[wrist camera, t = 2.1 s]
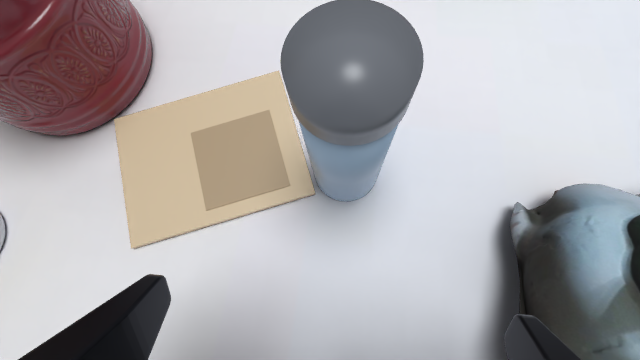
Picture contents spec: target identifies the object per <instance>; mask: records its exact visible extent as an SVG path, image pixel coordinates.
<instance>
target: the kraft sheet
mask: <svg viewBox="0 0 640 360" xmlns="http://www.w3.org/2000/svg"><path fill="white" fill-rule="evenodd" d="M114 123H115V130H116V138H117V145H118V153H119V160H120V168H121V175H122V183H123V190H124V198H125V205H126V213H127V220H128V228H129V235H130V243H131V248H134V249H135V248H138V247H142V246H145V245H148V244H152V243H155V242H158V241H162V240H165V239H168V238H172V237H175V236H178V235H182V234H185V233H188V232H192V231H195V230H198V229H202V228H205V227H208V226H212V225H215V224H218V223H222V222H225V221H228V220H232V219H235V218H238V217H242V216H245V215H248V214H252V213H255V212H258V211H262V210H265V209H268V208H271V207H275V206H278V205H281V204H285V203H288V202H291V201H295V200H298V199H301V198H305V197H308V196H311V195H315V190H314V187H313V184H312V180H311V177H310V173H309V170H308V167H307V163H306V160H305V157H304V153H303V150H302V146H301V143H300V140H299V136H298V133H297V130H296V126H295V123H294V120H293V116H292V113H291V109H290V106H289V103H288V99H287V96H286V93H285V89H284V86H283V83H282V79H281V76H280V72H279V71H276V72H272V73H269V74H266V75H262V76H259V77H255V78H252V79H249V80H245V81H242V82H238V83H235V84H232V85H228V86H225V87H221V88H218V89H215V90H211V91H208V92H204V93H201V94H198V95H194V96H191V97H187V98H184V99H181V100H177V101H174V102H170V103H167V104H164V105H160V106H157V107H153V108H150V109H147V110H143V111H140V112H136V113H133V114H130V115H126V116H123V117H119V118H116V119H114Z"/></svg>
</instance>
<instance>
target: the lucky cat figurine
mask: <svg viewBox="0 0 640 360" xmlns="http://www.w3.org/2000/svg"><path fill="white" fill-rule="evenodd" d="M510 229H511V233H512V234H511V236H512V240H513V243H514V247H515V251H516V255H517V260H518V269H519V277H520V314H524V315H532V316H534V317H536V318H537V319H539V320H540V321H541V322H542V323H543V324H544V325H545V326H546V327H547V328H548V329H549V330H550V331H551V332H552V333H554V334H555V335H556V336H557V337H558V338H559V339H560V340H561V341H562V342H563V343H564V344H565V345H566V346H567V347H569V348H570V349H571V350H572V351H573V352H574V353H575V354H576V355H577V356H578V357H579V358H580V359H581V360H640V194H639V195H633V194H630V193H627V192H625V191H622V190H618V189H615V188H611V187H608V186H605V185H600V184H577V185H572V186H568V187H564V188H562V189H560V190H557V191H555V192H554V195H553V197H552V198H551V199H550V200H549V201H548V202H547V203H546V204H545V205H542V206H539V207H538V208H536V209H533V210H527V209H526V208H525V207H524V206H522V205H521V204H520V203H518V202H517V203H516V204H515V205H514V210H513V214H512V218H511V222H510Z"/></svg>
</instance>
